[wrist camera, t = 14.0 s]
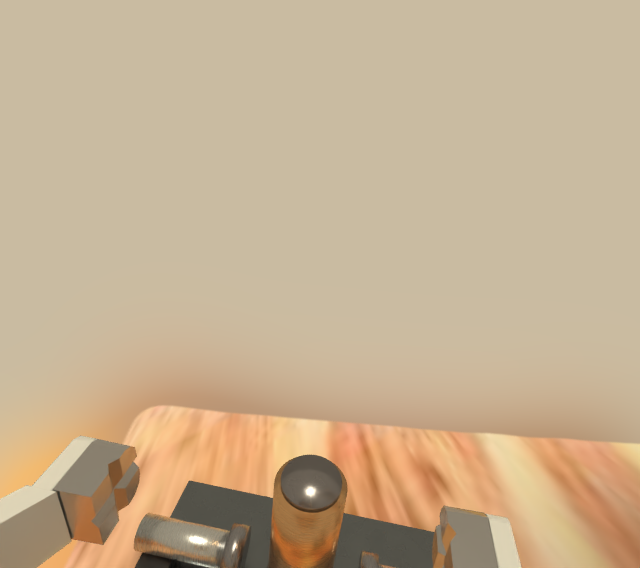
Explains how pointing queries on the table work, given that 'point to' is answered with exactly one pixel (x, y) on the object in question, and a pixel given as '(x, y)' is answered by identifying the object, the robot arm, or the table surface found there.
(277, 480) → the amber capped cylinder
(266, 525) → the shaft bench
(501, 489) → the table surface
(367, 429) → the table surface
